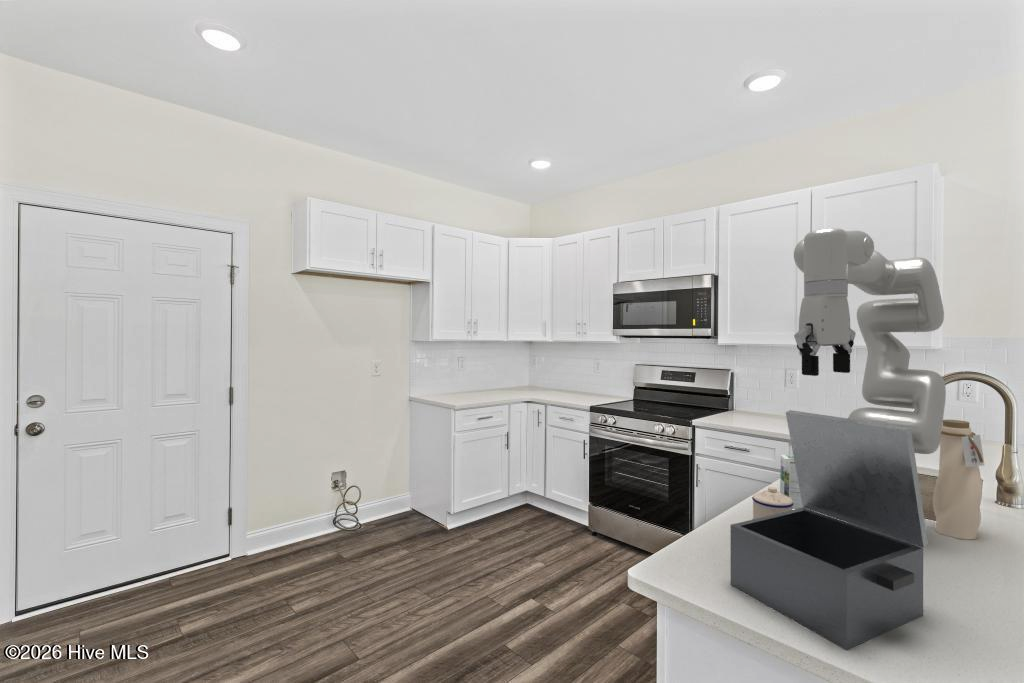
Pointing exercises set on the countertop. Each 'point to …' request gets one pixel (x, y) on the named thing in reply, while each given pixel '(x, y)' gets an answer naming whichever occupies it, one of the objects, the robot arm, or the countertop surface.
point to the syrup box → (790, 481)
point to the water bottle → (958, 481)
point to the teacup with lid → (770, 503)
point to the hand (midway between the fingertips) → (826, 373)
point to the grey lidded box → (828, 574)
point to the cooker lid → (859, 473)
